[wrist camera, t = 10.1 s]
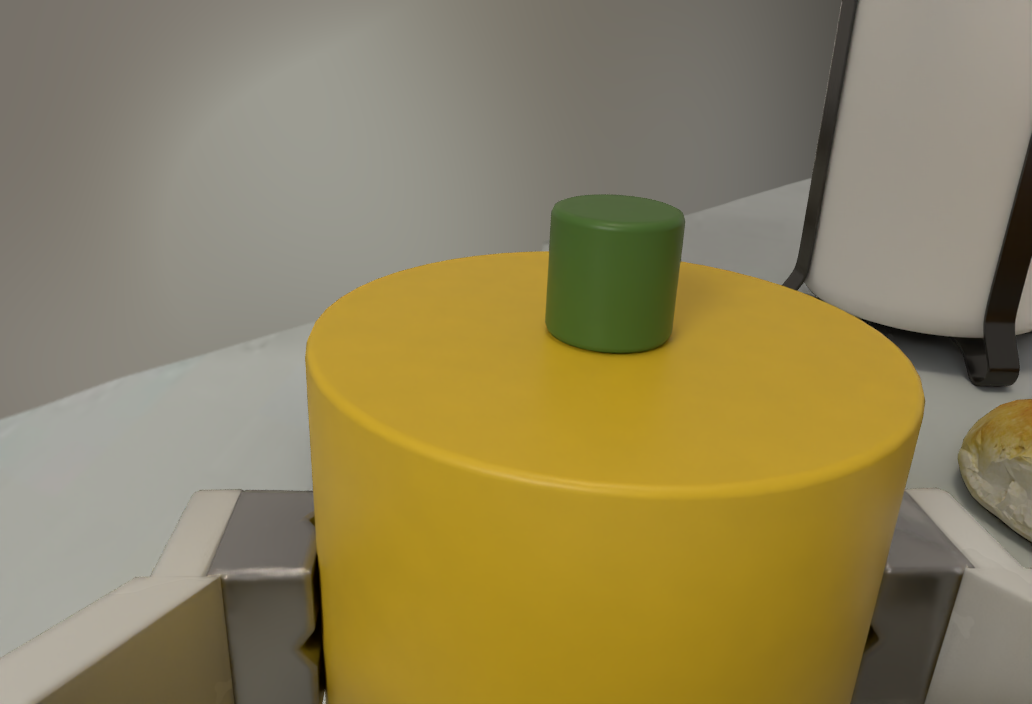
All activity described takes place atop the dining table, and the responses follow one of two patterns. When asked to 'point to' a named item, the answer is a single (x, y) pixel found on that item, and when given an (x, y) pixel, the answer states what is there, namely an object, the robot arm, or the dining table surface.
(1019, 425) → the bread roll
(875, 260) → the coffee press
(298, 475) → the dining table surface
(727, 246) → the dining table surface
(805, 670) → the pepper
